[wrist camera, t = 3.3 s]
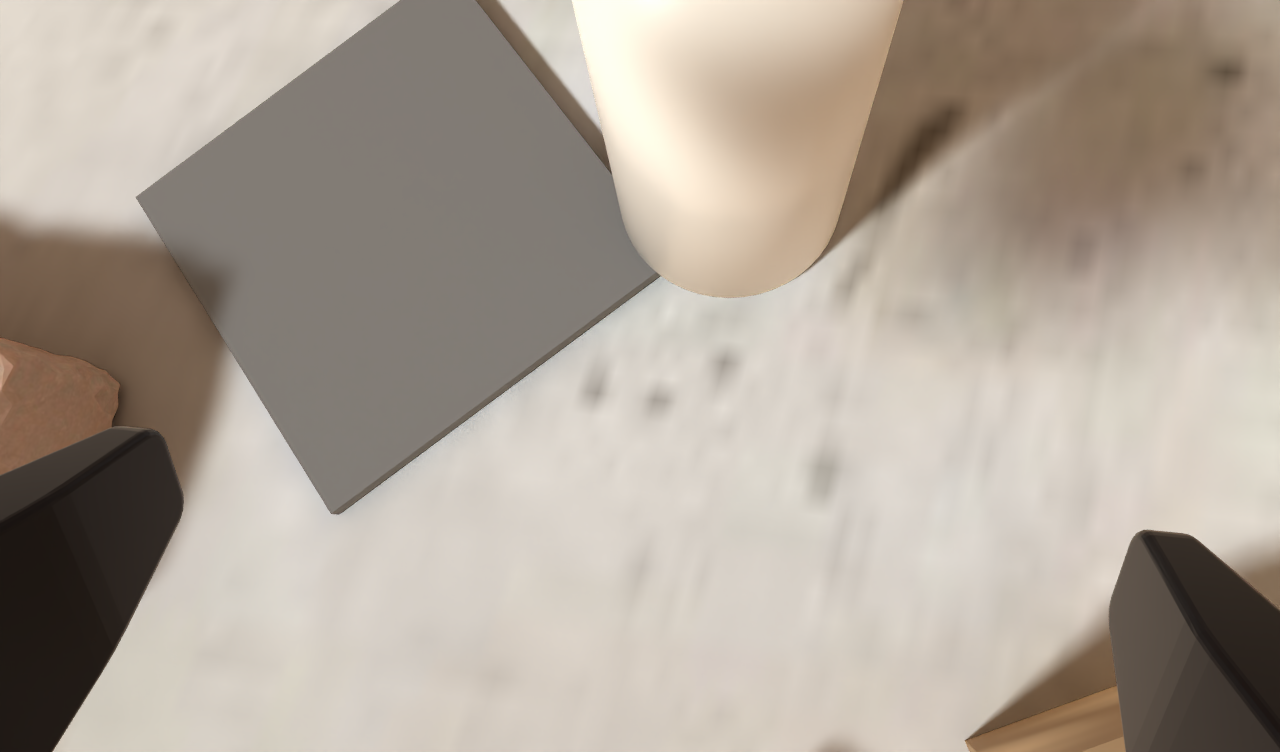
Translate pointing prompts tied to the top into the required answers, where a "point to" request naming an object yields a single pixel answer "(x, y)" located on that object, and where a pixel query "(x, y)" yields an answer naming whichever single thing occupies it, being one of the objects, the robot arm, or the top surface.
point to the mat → (397, 240)
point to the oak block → (1062, 729)
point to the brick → (49, 402)
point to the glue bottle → (733, 127)
